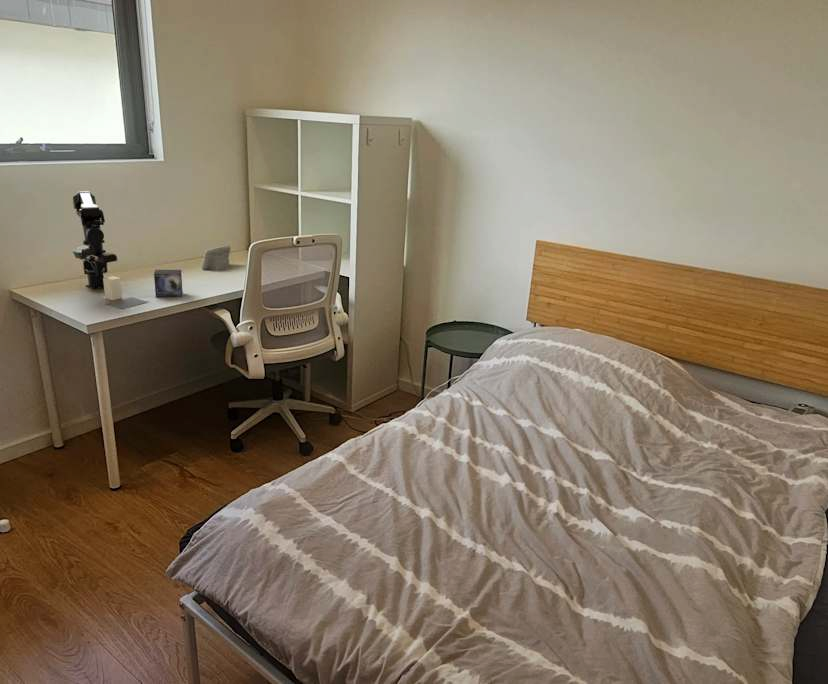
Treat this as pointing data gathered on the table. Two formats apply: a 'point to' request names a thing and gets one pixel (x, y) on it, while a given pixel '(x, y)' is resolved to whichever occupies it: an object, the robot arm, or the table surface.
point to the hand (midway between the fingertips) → (98, 275)
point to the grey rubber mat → (126, 303)
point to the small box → (168, 283)
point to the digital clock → (216, 258)
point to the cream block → (112, 288)
